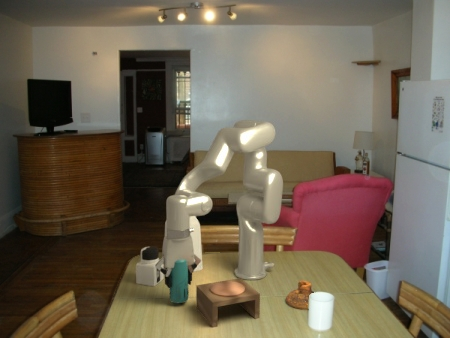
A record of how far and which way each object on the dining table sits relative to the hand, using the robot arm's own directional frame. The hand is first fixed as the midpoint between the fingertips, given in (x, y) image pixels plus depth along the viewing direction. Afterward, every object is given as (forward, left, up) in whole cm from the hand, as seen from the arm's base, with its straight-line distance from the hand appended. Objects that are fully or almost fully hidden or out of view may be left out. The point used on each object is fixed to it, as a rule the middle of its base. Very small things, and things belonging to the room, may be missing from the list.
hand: (178, 284), depth 160 cm
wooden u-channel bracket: (-12, +13, -7) cm, 19 cm away
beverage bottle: (0, 0, -7) cm, 7 cm away
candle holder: (-39, +16, -7) cm, 43 cm away
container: (+4, -22, -7) cm, 23 cm away
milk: (-12, -31, -7) cm, 34 cm away
